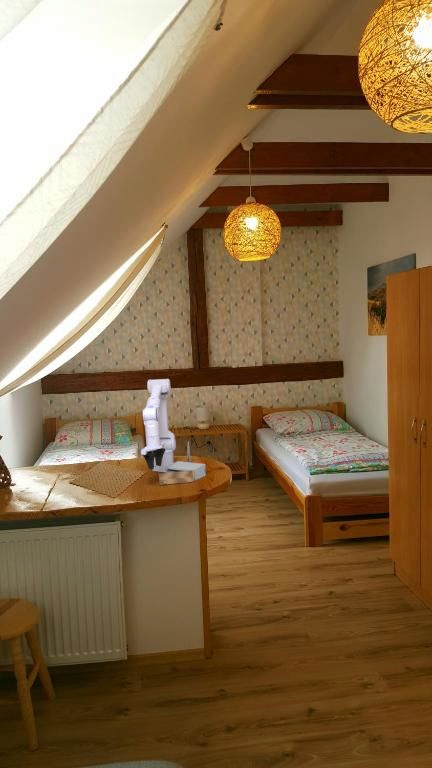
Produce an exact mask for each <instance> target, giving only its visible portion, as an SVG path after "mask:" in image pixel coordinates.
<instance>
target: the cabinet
mask: <svg viewBox="0 0 432 768" xmlns="http://www.w3.org/2000/svg"><path fill="white" fill-rule="evenodd" d="M199 463H200V462H191V461H190V462H187V461H181V460H180V461H179V460H177V461H175V462H174V463H173V464H170V465H168V466H166V467H165V470H166V472H165V473H171V472H181V471H191V470H194V477H195V481H197V480H199V479H202V478H203V477H205V476H207V471H206V468H207V467H206V466H207V465H206V464H205V463H204V464H199Z"/></svg>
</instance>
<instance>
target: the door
mask: <svg viewBox="0 0 432 768" xmlns="http://www.w3.org/2000/svg"><path fill="white" fill-rule="evenodd" d="M158 480H159V485H160V486H163V485H173V484H183V483H192V482H195V481H196V480H195V477H194V470H191V471H181V472H171V473H166V472H160V473H158Z"/></svg>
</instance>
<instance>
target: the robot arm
mask: <svg viewBox="0 0 432 768" xmlns="http://www.w3.org/2000/svg"><path fill="white" fill-rule="evenodd" d="M146 388H147V392H148V393H149V395H150V397H148V398H147V400H146V405H145V407H144V408H143V409H142V420H143V424H144V429H145V430H144V431H145V442H146V443H145V444H146V446H145V447H143V448H141V449H140V454H141V455H142V457H143V458H144V459H145V462H146V464H147V468H148V469H149V470H152V472H158V473H166V470H165V467H166V466H168V465H170V464H173V463H175V462H174V461H175V460H174V452H175V450H176V448H177V441H176V436H175V433H173V432H172V431H170V430H169V419H168V402H167V400H168V397H169V396H170V395H171V392H172V390H171V389H172V388H171V380H170V379H169V378H162V379H161V378H159V379H148V380H147V387H146Z"/></svg>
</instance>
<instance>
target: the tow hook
mask: <svg viewBox="0 0 432 768" xmlns="http://www.w3.org/2000/svg"><path fill="white" fill-rule="evenodd" d="M190 448H191V447H190V441H187V446H186V453H187V454H186V462H190V463H191V454H190V453H191V451H190V450H191V449H190ZM198 463H199V464H205V463H203V462H198Z"/></svg>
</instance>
